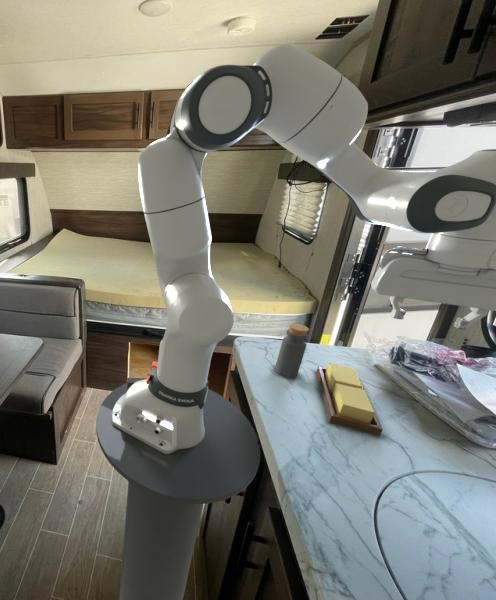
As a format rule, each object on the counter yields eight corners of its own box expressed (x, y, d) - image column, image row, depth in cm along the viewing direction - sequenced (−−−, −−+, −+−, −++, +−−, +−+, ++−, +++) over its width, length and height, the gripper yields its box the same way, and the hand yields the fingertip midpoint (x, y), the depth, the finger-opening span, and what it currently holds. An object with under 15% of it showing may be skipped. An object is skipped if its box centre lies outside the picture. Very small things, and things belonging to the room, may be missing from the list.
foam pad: (337, 417, 77) (343, 404, 75) (331, 395, 84) (335, 383, 83) (368, 426, 74) (374, 412, 73) (359, 402, 82) (364, 389, 80)
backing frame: (329, 422, 76) (331, 415, 75) (316, 372, 95) (318, 366, 94) (379, 436, 72) (383, 429, 72) (355, 381, 91) (358, 375, 90)
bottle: (292, 367, 97) (306, 323, 91) (300, 379, 92) (315, 333, 86) (271, 365, 98) (283, 321, 92) (278, 376, 92) (291, 330, 87)
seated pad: (330, 392, 85) (334, 380, 84) (324, 374, 93) (328, 362, 91) (357, 399, 83) (362, 386, 82) (349, 380, 91) (354, 368, 89)
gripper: (391, 248, 58) (365, 318, 63) (558, 264, 49) (512, 342, 55) (380, 242, 63) (357, 306, 68) (530, 255, 55) (490, 327, 60)
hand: (427, 322), depth 61 cm, fingers open, 8 cm apart
